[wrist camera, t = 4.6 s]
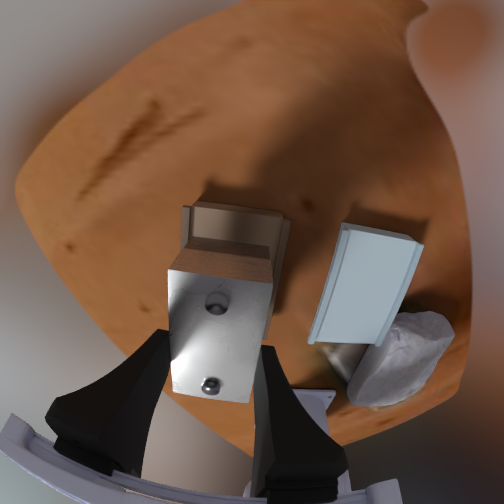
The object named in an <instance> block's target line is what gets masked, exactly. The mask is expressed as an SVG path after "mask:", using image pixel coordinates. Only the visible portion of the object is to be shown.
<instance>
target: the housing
mask: <svg viewBox="0 0 504 504" xmlns="http://www.w3.org/2000/svg"><path fill="white" fill-rule="evenodd" d="M272 289H273V276H272V268H271V260H270V251H269V246H264V245H256V244H249V243H241V242H234V241H226V240H219V239H211V238H204V237H196V236H192V237H191V238H190V239H189V241H188V242H187V243H186V245H185V246H184V248H183V249H182V250H181V252H180V253H179V255H178V256H177V257H176V259H175V260H174V262H173V263H172V265H171V266H170V267H169V269H168V313H169V334H170V353H171V371H172V383H173V392H176V393H181V394H186V395H192V396H198V397H204V398H210V399H217V400H225V401H233V402H242V403H248V402H249V398H250V394H251V389H252V385H253V380H254V375H255V370H256V365H257V361H258V356H259V351H260V347H261V343H262V338H263V334H264V329H265V324H266V319H267V314H268V309H269V304H270V299H271V294H272Z"/></svg>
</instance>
